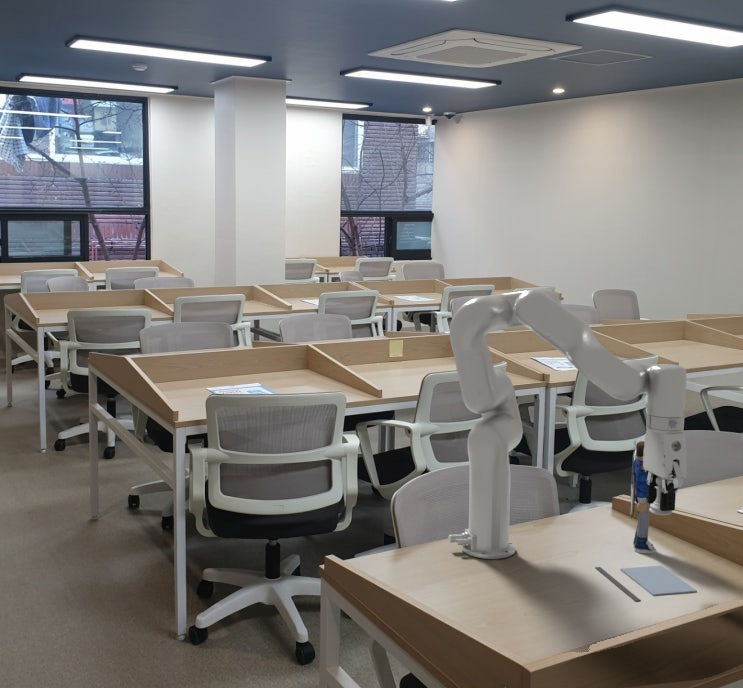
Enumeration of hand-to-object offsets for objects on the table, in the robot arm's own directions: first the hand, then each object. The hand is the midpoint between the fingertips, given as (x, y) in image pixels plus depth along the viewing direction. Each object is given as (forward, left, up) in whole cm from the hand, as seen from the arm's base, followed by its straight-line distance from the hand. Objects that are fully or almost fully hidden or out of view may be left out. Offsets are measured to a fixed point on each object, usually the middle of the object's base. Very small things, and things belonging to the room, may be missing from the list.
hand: (660, 505), depth 182 cm
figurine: (+6, +18, -17) cm, 25 cm away
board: (-2, 0, -17) cm, 17 cm away
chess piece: (0, 0, -2) cm, 2 cm away
